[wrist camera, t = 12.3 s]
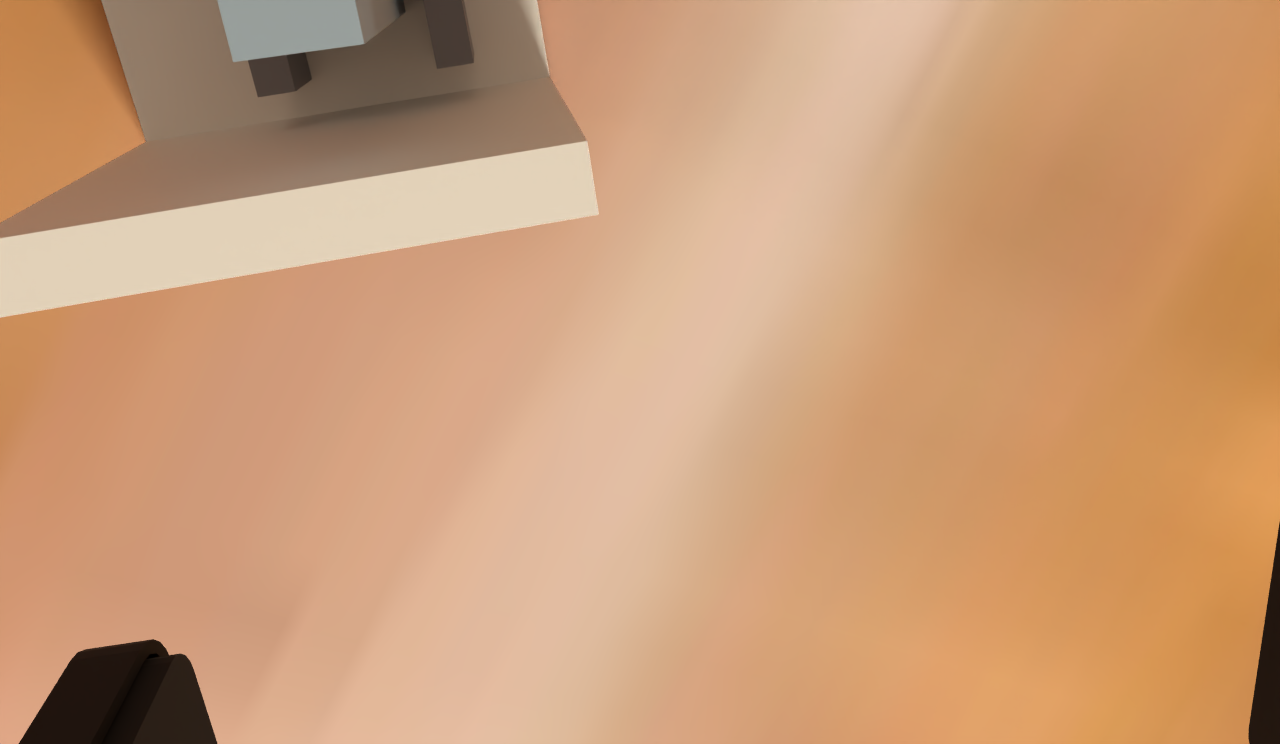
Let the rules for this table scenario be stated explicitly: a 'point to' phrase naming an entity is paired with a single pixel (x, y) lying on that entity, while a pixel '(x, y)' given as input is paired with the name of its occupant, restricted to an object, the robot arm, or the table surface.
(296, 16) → the door panel
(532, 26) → the cabinet base
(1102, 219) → the table surface
